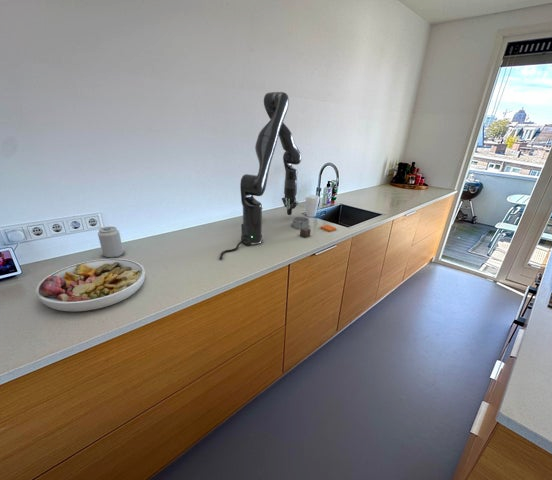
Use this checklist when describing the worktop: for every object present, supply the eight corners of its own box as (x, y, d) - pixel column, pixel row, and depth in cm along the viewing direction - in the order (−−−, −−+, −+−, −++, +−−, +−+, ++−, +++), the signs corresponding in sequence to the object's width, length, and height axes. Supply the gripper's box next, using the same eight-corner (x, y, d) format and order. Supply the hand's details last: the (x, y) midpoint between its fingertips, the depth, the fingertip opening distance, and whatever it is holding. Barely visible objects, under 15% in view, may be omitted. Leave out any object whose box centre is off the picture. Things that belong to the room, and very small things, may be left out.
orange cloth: (329, 231, 169) (329, 229, 168) (320, 228, 173) (320, 226, 172) (335, 229, 172) (336, 227, 172) (326, 226, 177) (327, 224, 176)
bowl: (125, 262, 118) (121, 245, 114) (162, 290, 101) (159, 270, 98) (30, 289, 96) (21, 269, 93) (57, 330, 80) (48, 307, 76)
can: (120, 249, 128) (115, 224, 123) (126, 255, 123) (120, 229, 118) (101, 254, 123) (94, 227, 118) (106, 260, 119) (99, 233, 113)
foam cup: (313, 218, 190) (315, 199, 184) (301, 215, 194) (303, 196, 188) (320, 215, 197) (322, 196, 192) (308, 212, 201) (309, 194, 196)
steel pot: (300, 230, 167) (301, 222, 165) (289, 225, 174) (289, 218, 172) (312, 227, 174) (312, 219, 172) (300, 222, 180) (301, 215, 178)
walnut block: (305, 237, 157) (305, 230, 155) (299, 235, 159) (300, 228, 158) (310, 236, 160) (310, 229, 158) (304, 234, 162) (305, 227, 160)
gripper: (278, 185, 172) (277, 213, 180) (293, 189, 164) (292, 218, 172) (287, 183, 177) (286, 211, 185) (302, 188, 169) (300, 216, 177)
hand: (289, 214), depth 178 cm, fingers closed
